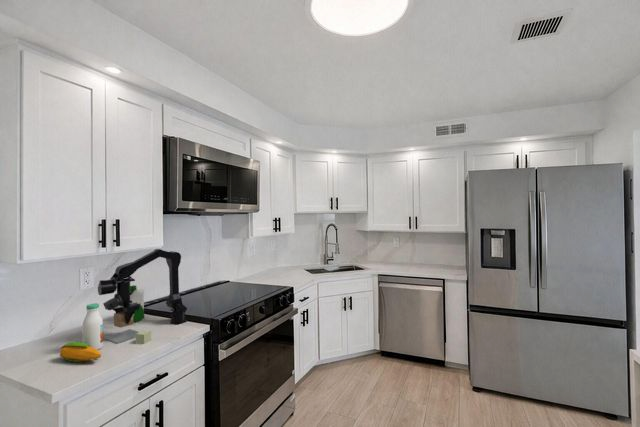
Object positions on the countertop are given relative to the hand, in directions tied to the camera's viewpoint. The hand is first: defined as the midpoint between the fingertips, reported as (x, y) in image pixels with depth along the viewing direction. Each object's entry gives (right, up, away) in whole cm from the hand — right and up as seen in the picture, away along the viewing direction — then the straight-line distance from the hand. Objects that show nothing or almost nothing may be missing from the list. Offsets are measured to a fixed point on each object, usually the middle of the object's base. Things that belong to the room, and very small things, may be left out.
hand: (123, 322), depth 159 cm
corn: (-2, -7, -26) cm, 27 cm away
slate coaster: (0, -7, 0) cm, 7 cm away
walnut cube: (0, -1, 0) cm, 1 cm away
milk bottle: (-5, -7, -15) cm, 17 cm away
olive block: (+13, -7, -7) cm, 17 cm away
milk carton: (-9, -7, +25) cm, 27 cm away
